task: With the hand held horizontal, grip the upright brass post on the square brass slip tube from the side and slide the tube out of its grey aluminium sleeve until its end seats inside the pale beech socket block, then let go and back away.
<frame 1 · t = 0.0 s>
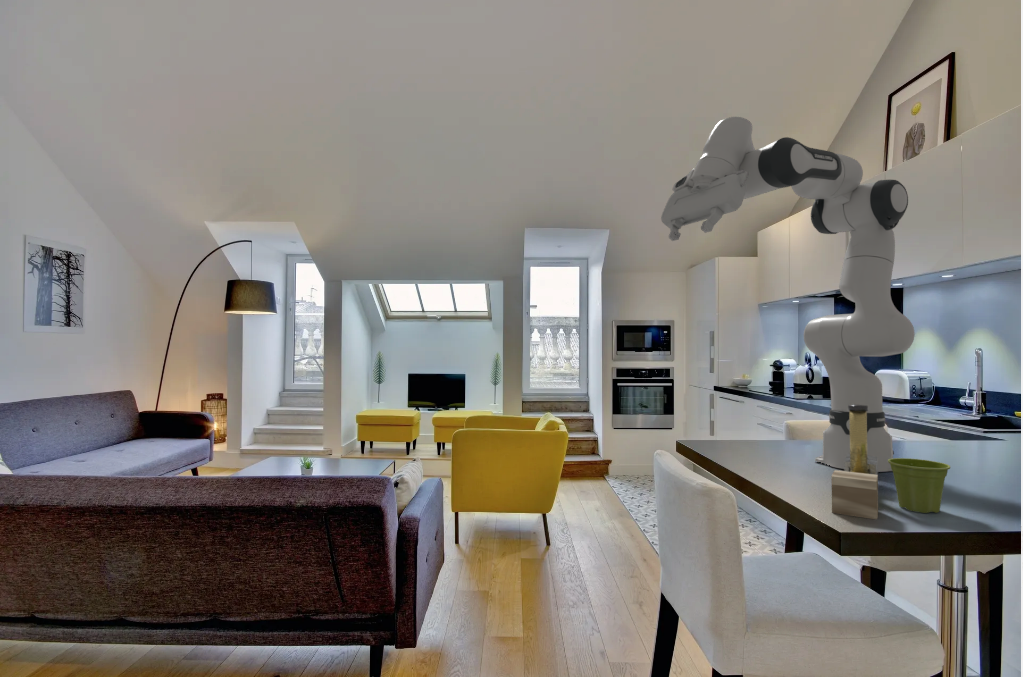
hand: (688, 234, 115), 54 cm above the table, tool tilted 30°, fingers open, 8 cm apart
plant pot: (919, 510, 102), on the table
slip tube: (859, 444, 114), point 10 cm above the table, slide at 0.0 cm
sleeve: (861, 486, 118), on the table
socket block: (855, 511, 100), on the table
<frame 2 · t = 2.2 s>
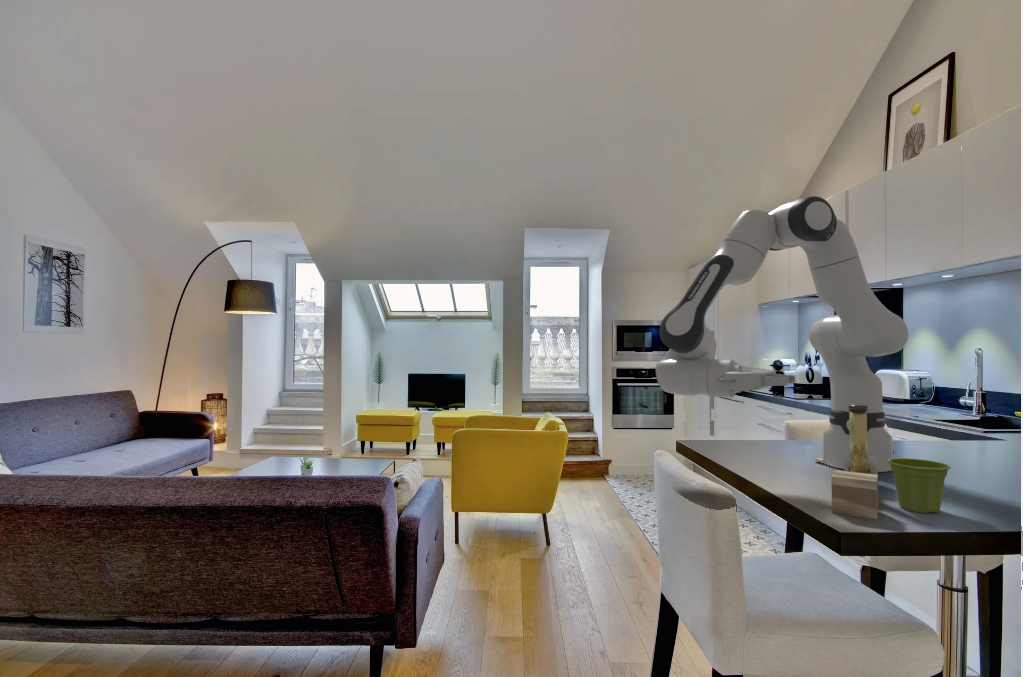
hand: (791, 380, 118), 23 cm above the table, tool horizontal, fingers open, 8 cm apart
nothing on the table moved.
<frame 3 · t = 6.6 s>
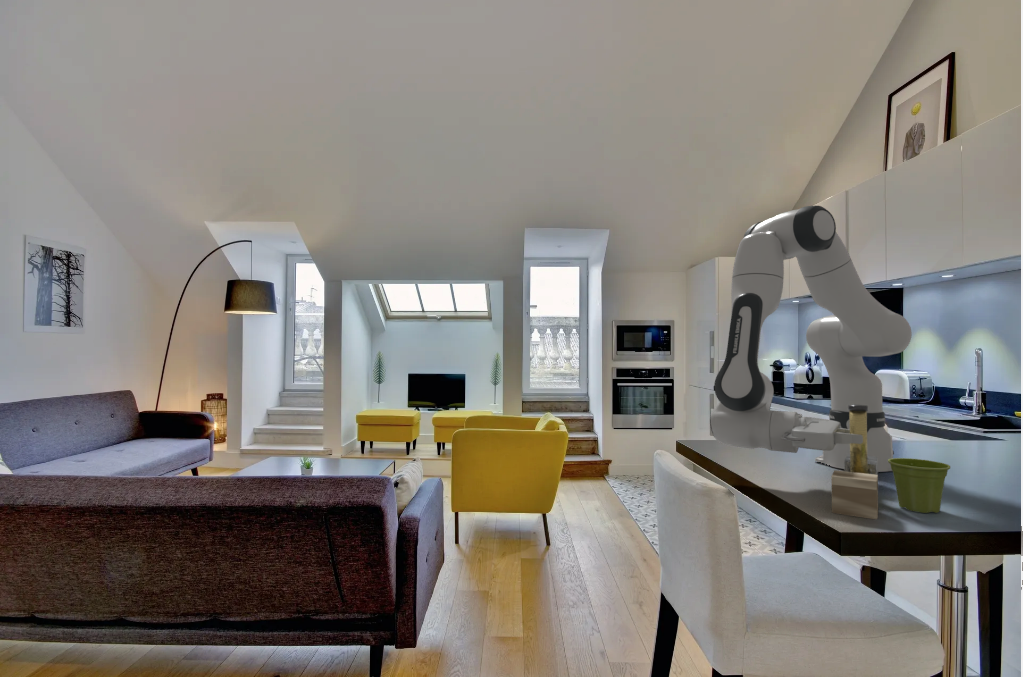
hand: (863, 437, 110), 12 cm above the table, tool horizontal, fingers closed on slip tube, 3 cm apart
slip tube: (859, 444, 114), point 10 cm above the table, slide at 0.0 cm, touching gripper
everything else where it was.
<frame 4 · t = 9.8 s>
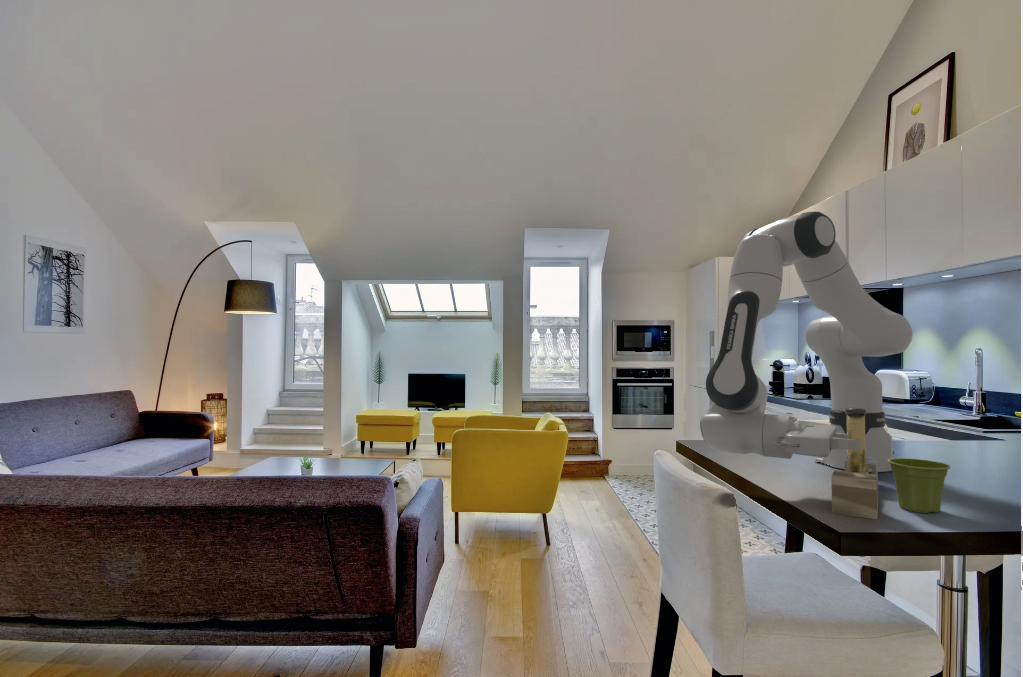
hand: (861, 442, 104), 12 cm above the table, tool horizontal, fingers closed on slip tube, 3 cm apart
slip tube: (857, 449, 108), point 10 cm above the table, slide at 7.5 cm, touching gripper
everything else where it was.
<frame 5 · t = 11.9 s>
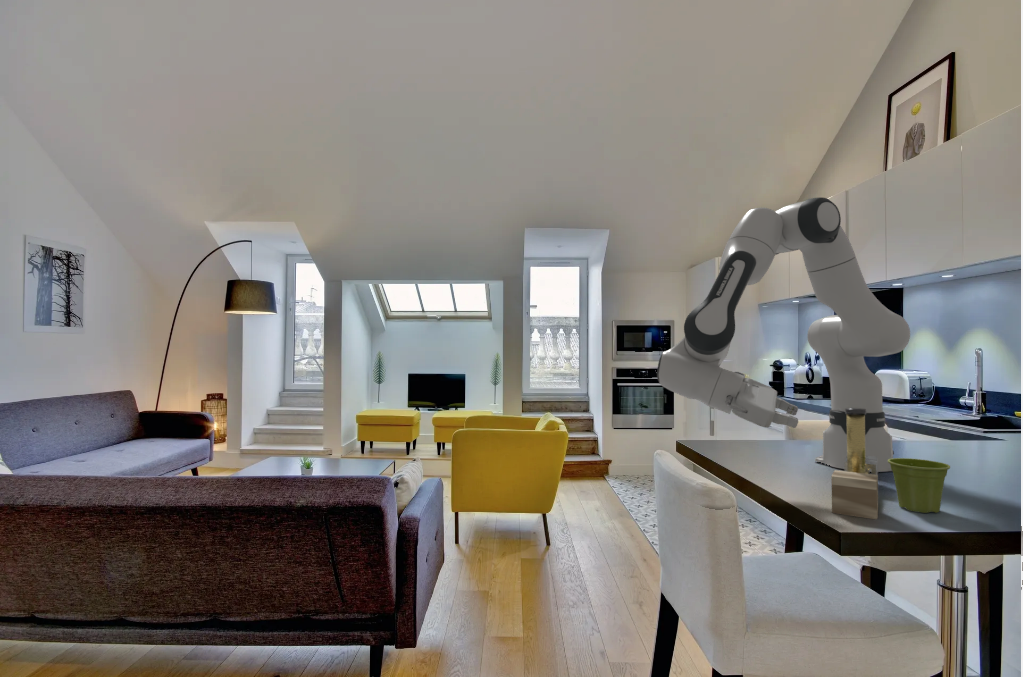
hand: (797, 417, 112), 16 cm above the table, tool tilted 70°, fingers open, 8 cm apart
slip tube: (857, 449, 108), point 10 cm above the table, slide at 7.5 cm
everything else where it was.
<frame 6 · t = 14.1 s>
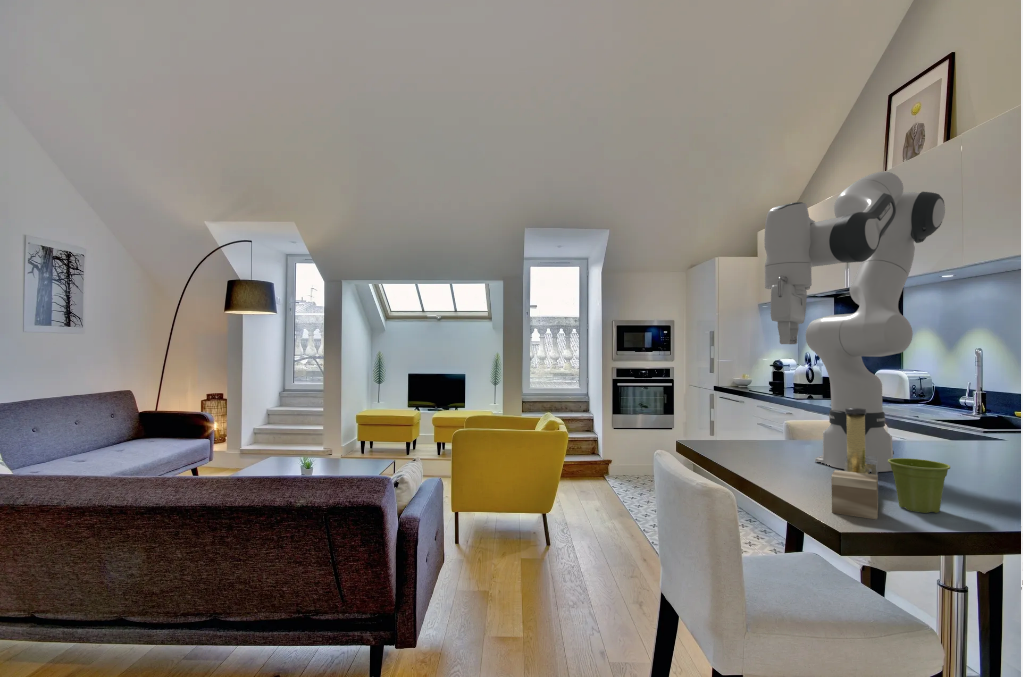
hand: (788, 344, 115), 31 cm above the table, tool pointing down, fingers open, 8 cm apart
nothing on the table moved.
at the end: slip tube slide at 7.5 cm; the gripper is holding nothing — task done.
